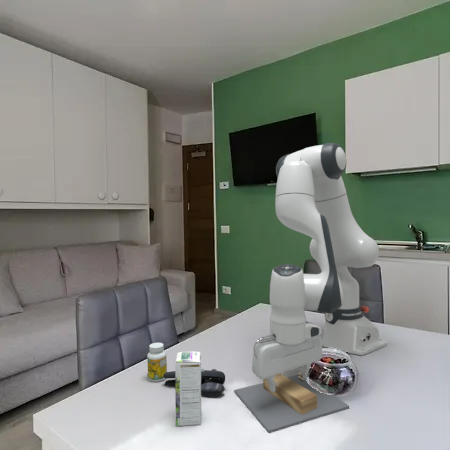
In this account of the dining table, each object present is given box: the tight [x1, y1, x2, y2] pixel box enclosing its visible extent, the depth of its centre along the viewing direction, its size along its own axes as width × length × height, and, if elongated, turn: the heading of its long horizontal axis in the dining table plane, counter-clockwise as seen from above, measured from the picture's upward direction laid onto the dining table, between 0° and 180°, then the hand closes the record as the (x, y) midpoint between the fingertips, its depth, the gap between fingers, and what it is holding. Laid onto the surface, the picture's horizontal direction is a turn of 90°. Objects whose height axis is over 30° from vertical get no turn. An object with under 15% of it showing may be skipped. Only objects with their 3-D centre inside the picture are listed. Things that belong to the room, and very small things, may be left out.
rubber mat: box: [233, 374, 350, 434], centre depth 83 cm, size 22×18×1 cm
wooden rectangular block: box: [262, 373, 317, 415], centre depth 83 cm, size 14×5×3 cm, turn 32°
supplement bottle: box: [146, 342, 168, 383], centre depth 95 cm, size 5×5×10 cm
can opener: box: [163, 368, 226, 398], centre depth 90 cm, size 18×7×6 cm, turn 73°
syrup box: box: [174, 350, 202, 427], centre depth 76 cm, size 6×6×14 cm
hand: (288, 385), depth 83 cm, fingers open, 8 cm apart
